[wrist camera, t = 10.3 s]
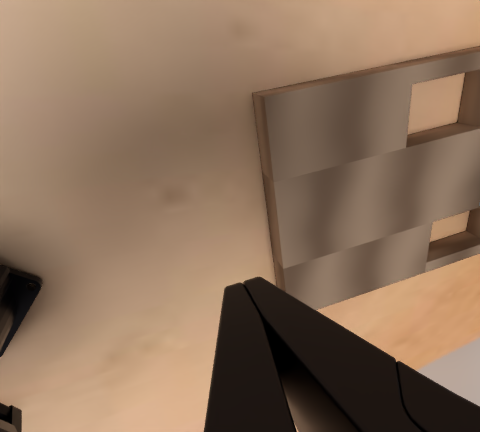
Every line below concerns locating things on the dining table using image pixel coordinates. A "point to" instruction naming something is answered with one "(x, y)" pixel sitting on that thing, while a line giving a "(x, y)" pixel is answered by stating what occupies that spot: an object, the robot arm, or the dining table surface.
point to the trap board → (366, 178)
